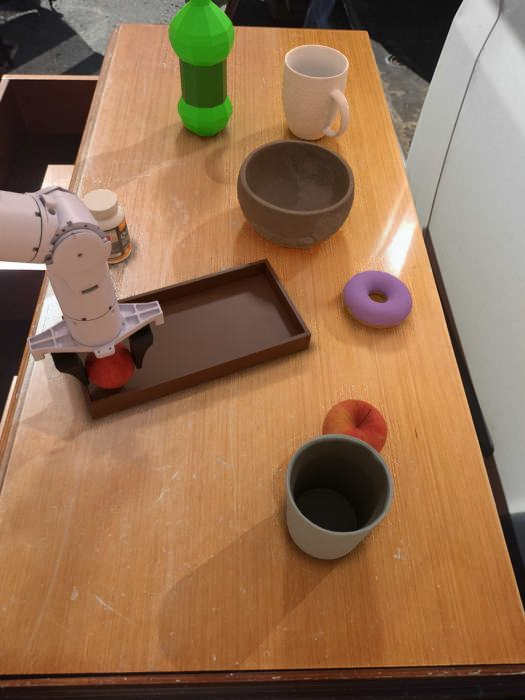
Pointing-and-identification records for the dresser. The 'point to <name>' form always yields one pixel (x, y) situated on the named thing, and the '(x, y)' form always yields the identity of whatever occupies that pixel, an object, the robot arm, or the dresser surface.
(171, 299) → the brown dish
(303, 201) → the bowl
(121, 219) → the pill bottle
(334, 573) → the dresser surface
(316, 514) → the gray cup
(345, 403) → the apple
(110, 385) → the pomegranate
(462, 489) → the dresser surface
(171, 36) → the plastic bottle
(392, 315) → the donut
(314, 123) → the mug
